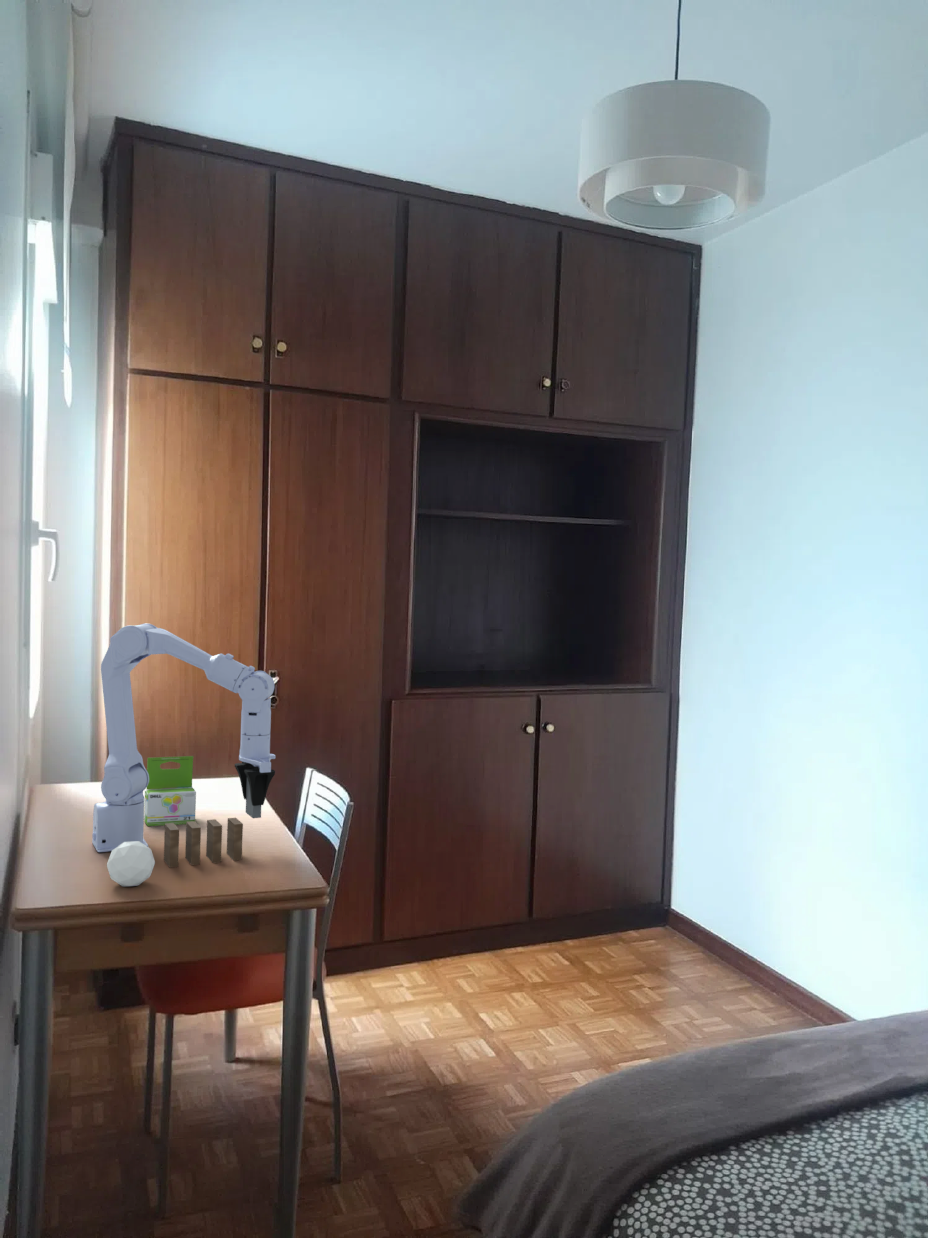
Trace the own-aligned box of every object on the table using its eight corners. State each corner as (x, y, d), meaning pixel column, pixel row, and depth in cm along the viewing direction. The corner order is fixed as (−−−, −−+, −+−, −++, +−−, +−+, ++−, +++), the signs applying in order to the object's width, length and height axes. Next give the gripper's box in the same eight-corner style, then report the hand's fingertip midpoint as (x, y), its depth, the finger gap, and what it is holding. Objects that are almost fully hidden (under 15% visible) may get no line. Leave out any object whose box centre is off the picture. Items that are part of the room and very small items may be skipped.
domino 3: (212, 863, 182) (213, 826, 182) (206, 855, 186) (207, 820, 186) (221, 862, 183) (222, 825, 183) (214, 854, 187) (215, 819, 187)
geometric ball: (142, 899, 168) (169, 866, 167) (103, 893, 163) (130, 858, 162) (131, 868, 174) (157, 836, 172) (92, 860, 168) (119, 827, 167)
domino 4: (233, 860, 184) (234, 824, 184) (226, 853, 188) (227, 818, 188) (241, 859, 185) (242, 823, 185) (234, 852, 189) (235, 817, 189)
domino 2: (191, 865, 180) (192, 828, 180) (185, 858, 185) (186, 822, 184) (199, 864, 181) (200, 827, 181) (193, 857, 185) (194, 821, 185)
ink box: (146, 827, 205) (148, 762, 205) (143, 820, 210) (145, 757, 210) (195, 823, 210) (197, 760, 209) (192, 817, 215) (194, 755, 214)
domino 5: (253, 811, 192) (254, 777, 192) (260, 817, 188) (262, 782, 188) (245, 812, 192) (246, 777, 191) (252, 818, 187) (254, 782, 187)
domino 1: (169, 867, 178) (170, 830, 178) (163, 860, 183) (164, 823, 182) (178, 866, 179) (179, 829, 179) (172, 859, 183) (173, 823, 183)
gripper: (287, 738, 185) (285, 808, 185) (264, 727, 197) (262, 792, 198) (251, 740, 181) (249, 811, 182) (230, 728, 194) (228, 795, 195)
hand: (253, 802), depth 190 cm, fingers closed on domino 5, 5 cm apart
